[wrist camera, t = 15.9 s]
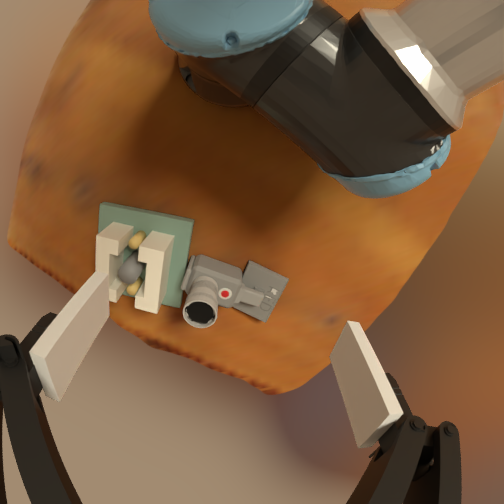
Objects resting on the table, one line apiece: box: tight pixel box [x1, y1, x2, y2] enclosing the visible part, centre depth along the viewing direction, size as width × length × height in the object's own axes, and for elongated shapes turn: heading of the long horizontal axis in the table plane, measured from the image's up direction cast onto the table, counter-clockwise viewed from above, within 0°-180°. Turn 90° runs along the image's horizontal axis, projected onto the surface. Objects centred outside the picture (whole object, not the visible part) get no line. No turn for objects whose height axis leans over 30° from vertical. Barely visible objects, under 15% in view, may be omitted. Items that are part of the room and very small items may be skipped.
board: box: [98, 202, 194, 308], centre depth 41 cm, size 15×15×7 cm
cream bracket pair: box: [96, 222, 174, 314], centre depth 40 cm, size 10×10×6 cm
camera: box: [181, 254, 289, 328], centre depth 41 cm, size 9×12×15 cm
